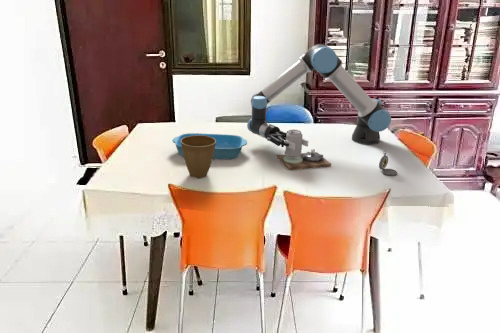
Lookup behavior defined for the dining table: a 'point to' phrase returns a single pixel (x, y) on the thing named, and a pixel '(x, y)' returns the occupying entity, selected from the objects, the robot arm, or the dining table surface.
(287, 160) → the output pad
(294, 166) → the gear board
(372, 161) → the dining table surface
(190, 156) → the plant pot
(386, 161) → the pocket watch
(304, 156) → the gear
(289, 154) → the can
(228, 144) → the casserole dish
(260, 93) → the robot arm
